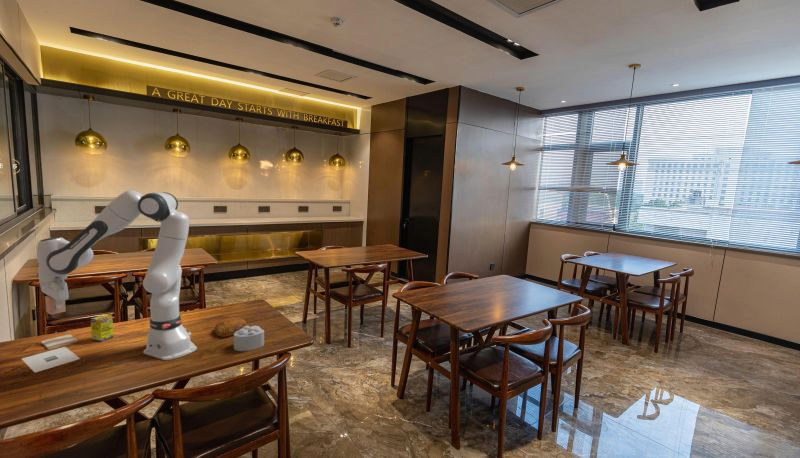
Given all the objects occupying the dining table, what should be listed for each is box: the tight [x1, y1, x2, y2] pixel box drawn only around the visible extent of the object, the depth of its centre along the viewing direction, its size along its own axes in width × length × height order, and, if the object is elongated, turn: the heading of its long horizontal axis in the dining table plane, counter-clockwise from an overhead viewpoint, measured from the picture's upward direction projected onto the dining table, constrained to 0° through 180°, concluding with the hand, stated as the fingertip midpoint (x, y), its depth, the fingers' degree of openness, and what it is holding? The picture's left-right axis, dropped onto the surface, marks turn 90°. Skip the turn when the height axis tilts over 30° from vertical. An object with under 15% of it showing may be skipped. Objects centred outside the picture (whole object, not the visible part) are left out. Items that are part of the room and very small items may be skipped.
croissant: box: [214, 316, 248, 338], centre depth 188 cm, size 14×16×8 cm
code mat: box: [21, 346, 81, 373], centre depth 153 cm, size 18×14×1 cm
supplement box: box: [90, 313, 114, 343], centre depth 172 cm, size 6×6×11 cm
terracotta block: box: [44, 295, 67, 316], centre depth 155 cm, size 5×5×7 cm
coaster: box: [40, 333, 78, 350], centre depth 167 cm, size 10×10×1 cm
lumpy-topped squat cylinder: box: [233, 325, 265, 352], centre depth 173 cm, size 10×13×9 cm
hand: (55, 306), depth 155 cm, fingers closed on terracotta block, 5 cm apart
